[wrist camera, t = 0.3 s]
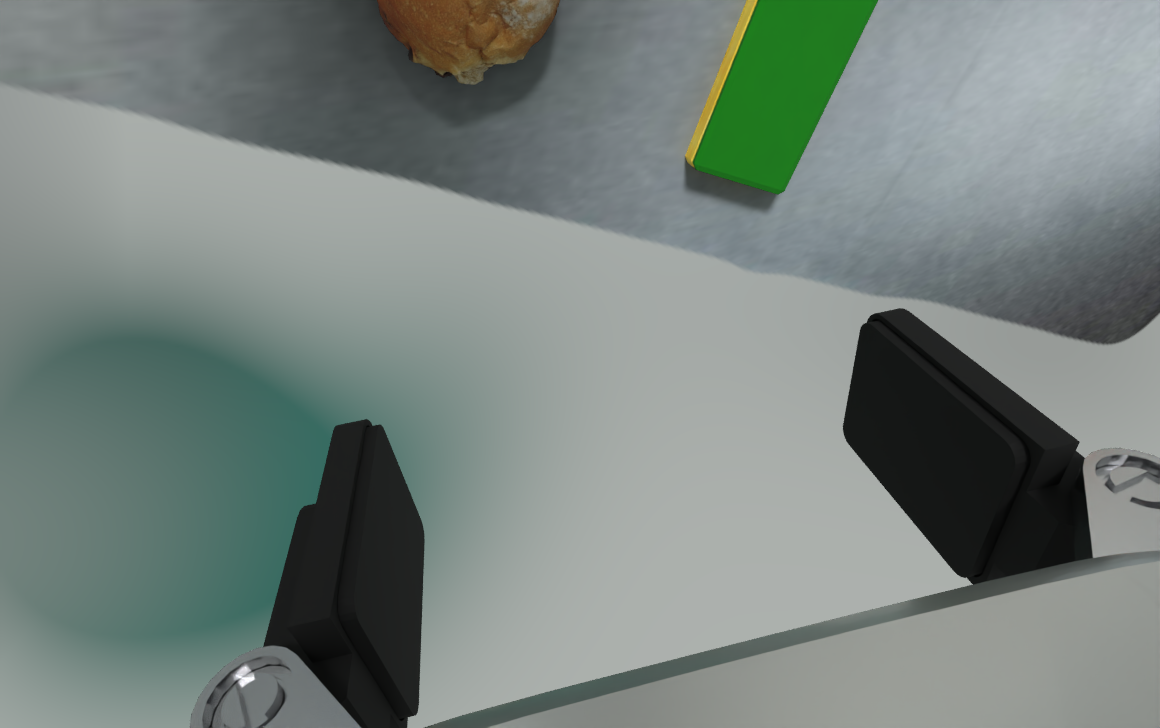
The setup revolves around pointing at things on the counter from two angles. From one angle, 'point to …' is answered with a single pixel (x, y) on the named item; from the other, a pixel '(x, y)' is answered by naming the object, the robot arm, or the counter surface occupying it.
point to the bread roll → (467, 32)
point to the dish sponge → (775, 88)
